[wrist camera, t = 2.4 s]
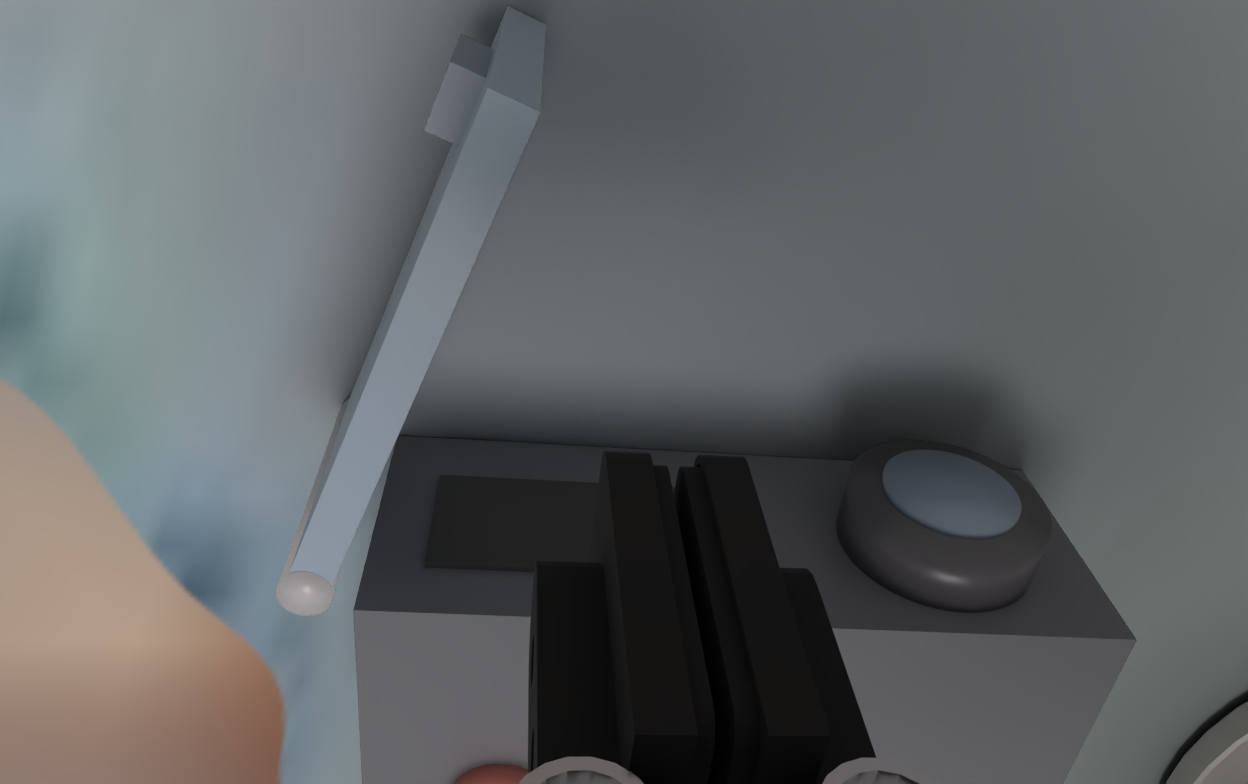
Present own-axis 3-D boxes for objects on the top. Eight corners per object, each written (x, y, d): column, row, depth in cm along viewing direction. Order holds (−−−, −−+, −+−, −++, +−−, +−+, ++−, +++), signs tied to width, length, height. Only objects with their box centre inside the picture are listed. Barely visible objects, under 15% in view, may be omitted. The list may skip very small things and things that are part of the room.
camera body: (1042, 419, 25) (1187, 610, 19) (931, 707, 30) (1018, 924, 25) (396, 379, 23) (342, 576, 18) (401, 691, 29) (361, 920, 23)
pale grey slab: (478, -10, 19) (445, 71, 13) (550, 25, 19) (547, 117, 14) (314, 416, 23) (242, 598, 18) (375, 437, 24) (322, 622, 19)
